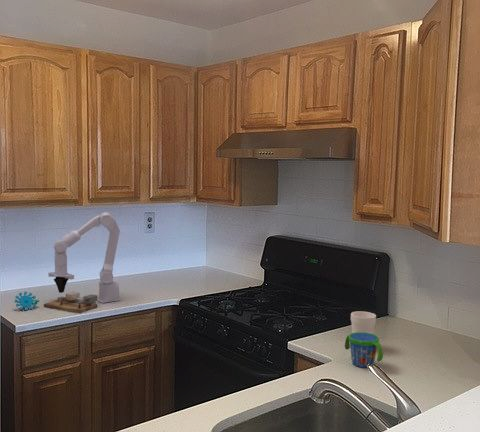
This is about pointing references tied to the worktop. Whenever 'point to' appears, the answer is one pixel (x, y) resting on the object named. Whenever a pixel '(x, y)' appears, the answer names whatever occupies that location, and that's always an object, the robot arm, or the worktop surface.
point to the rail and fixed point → (86, 300)
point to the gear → (26, 301)
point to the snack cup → (363, 348)
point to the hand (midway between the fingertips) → (61, 292)
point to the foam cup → (363, 322)
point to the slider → (71, 296)
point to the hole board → (69, 306)
